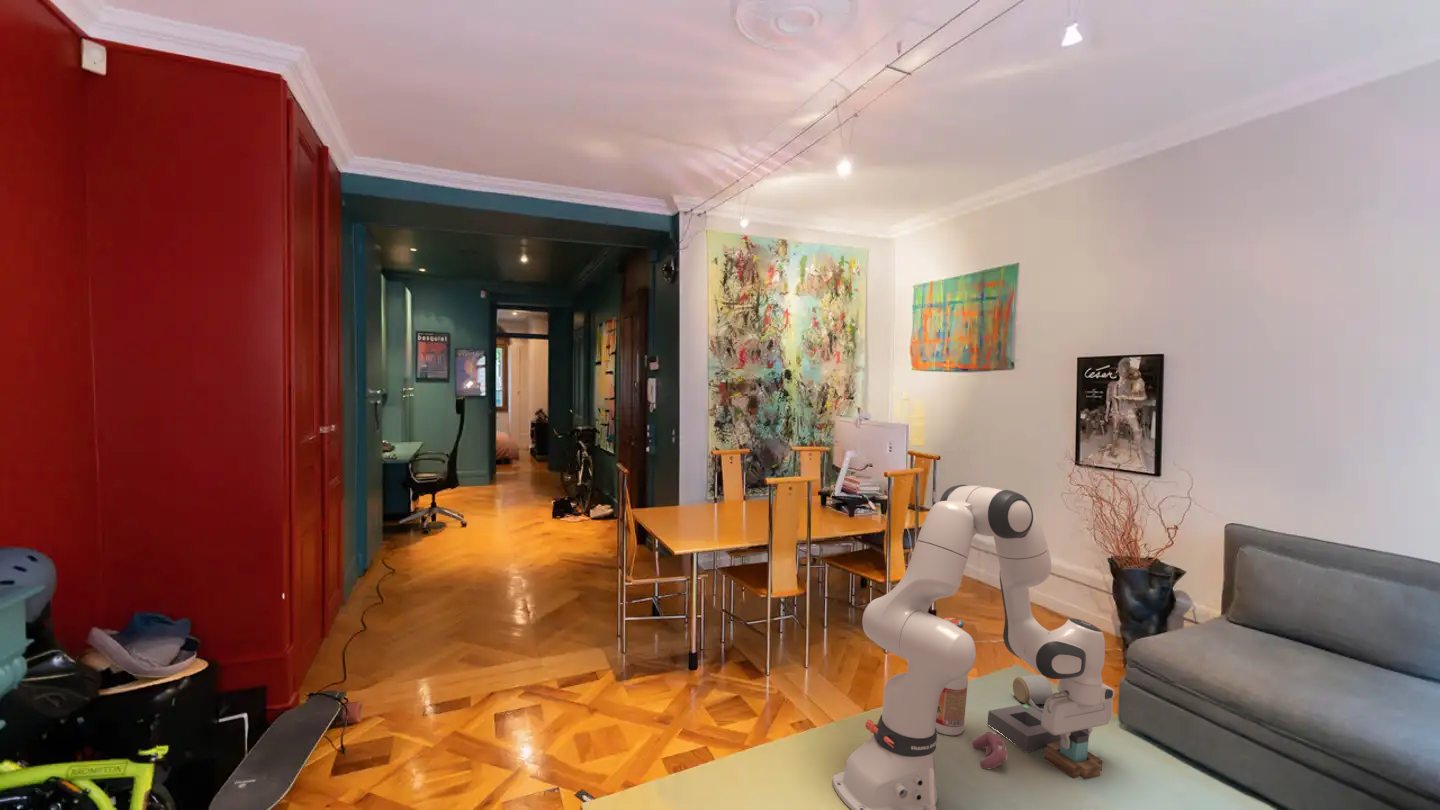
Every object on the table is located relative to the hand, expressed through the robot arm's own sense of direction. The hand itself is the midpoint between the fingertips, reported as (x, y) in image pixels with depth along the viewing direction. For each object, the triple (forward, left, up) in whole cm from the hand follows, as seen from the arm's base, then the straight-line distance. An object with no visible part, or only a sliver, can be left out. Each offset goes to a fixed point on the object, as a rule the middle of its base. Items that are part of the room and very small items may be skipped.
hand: (1074, 745), depth 142 cm
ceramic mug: (+17, +24, -5) cm, 30 cm away
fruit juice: (-19, +22, -5) cm, 29 cm away
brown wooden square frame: (0, 0, -5) cm, 5 cm away
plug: (0, 0, -5) cm, 5 cm away
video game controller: (-19, +8, -5) cm, 21 cm away
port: (0, +13, -5) cm, 14 cm away
